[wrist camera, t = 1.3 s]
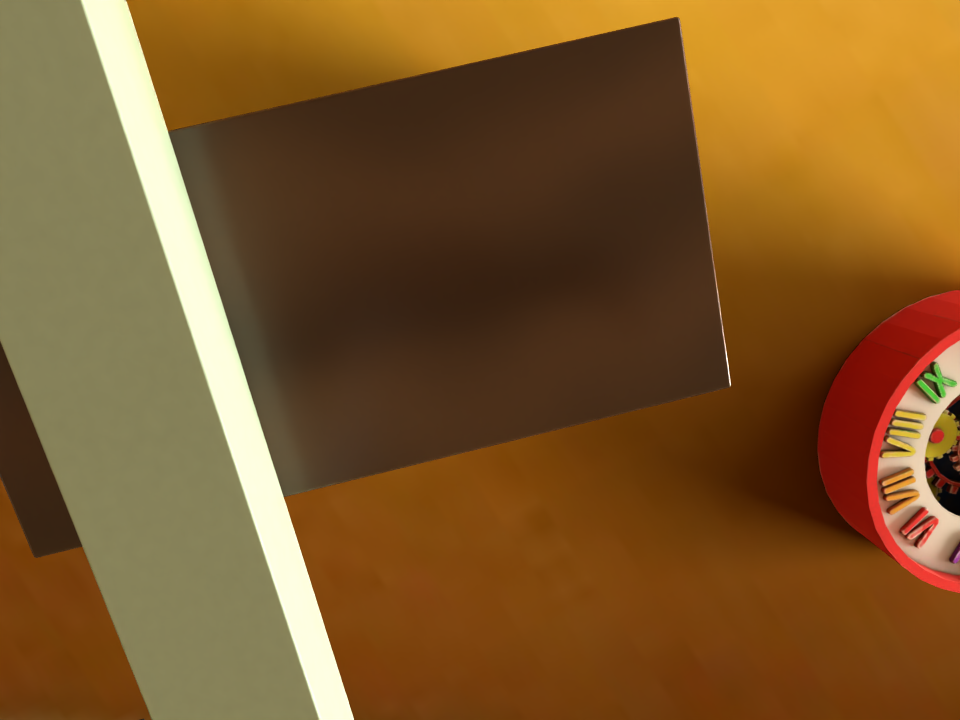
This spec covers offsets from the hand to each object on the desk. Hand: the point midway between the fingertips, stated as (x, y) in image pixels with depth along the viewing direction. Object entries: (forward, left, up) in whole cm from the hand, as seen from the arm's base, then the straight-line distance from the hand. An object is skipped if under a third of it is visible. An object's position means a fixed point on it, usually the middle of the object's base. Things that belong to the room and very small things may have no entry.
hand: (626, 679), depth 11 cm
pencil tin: (-6, -7, -11) cm, 14 cm away
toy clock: (+32, +19, -39) cm, 54 cm away
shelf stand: (-6, -1, -39) cm, 39 cm away
